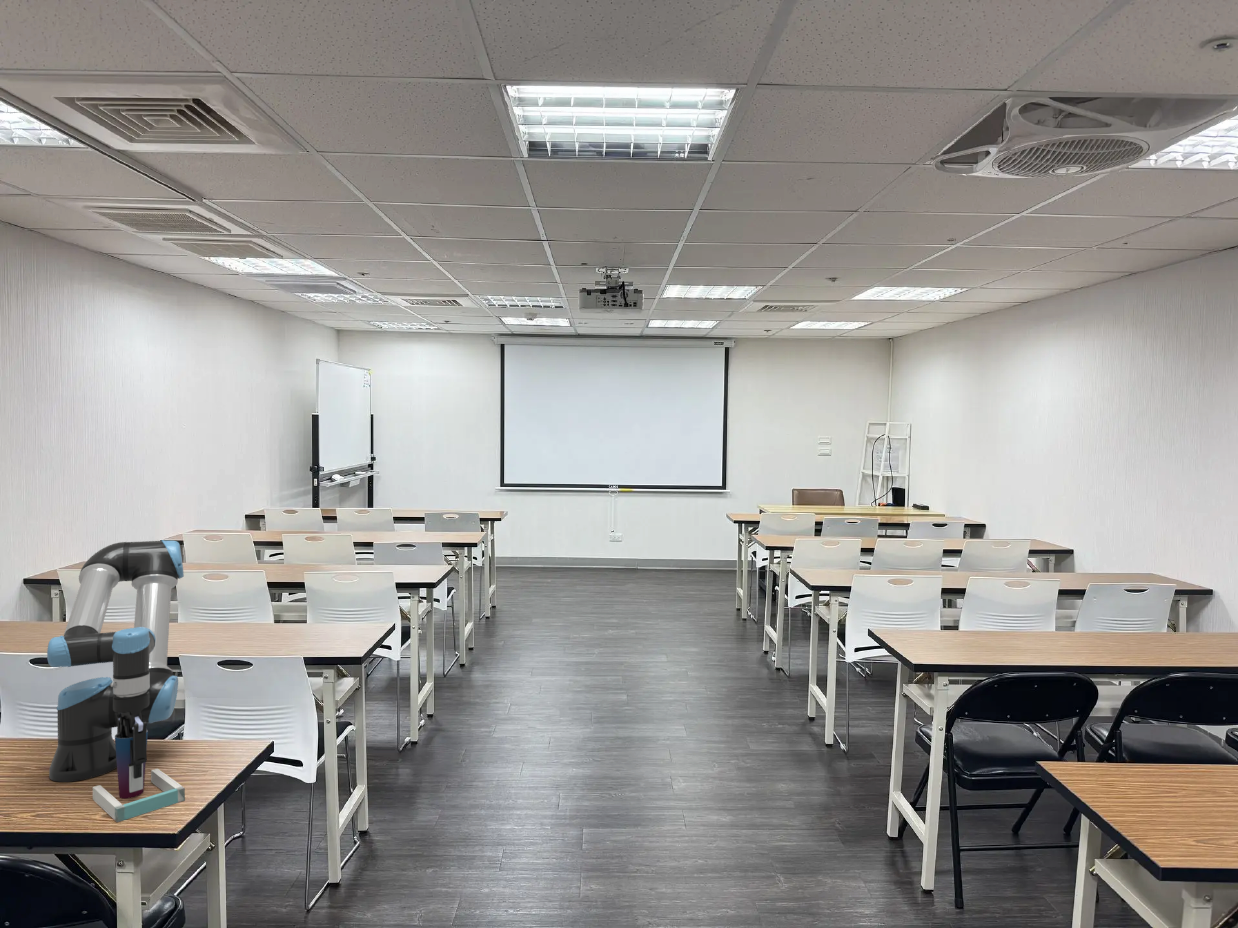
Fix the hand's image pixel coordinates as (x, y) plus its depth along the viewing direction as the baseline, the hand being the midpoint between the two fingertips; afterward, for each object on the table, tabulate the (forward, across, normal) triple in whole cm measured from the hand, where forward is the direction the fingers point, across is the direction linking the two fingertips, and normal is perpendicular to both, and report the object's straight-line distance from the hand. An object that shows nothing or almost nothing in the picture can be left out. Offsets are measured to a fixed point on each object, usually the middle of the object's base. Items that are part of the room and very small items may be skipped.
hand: (131, 786), depth 179 cm
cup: (+2, 0, 0) cm, 2 cm away
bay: (+2, +5, 0) cm, 5 cm away
